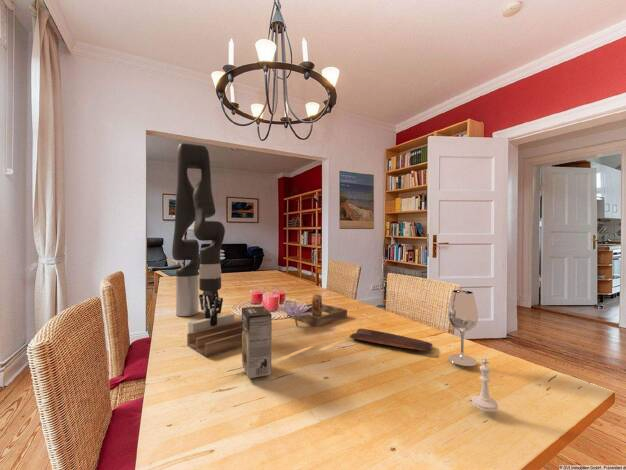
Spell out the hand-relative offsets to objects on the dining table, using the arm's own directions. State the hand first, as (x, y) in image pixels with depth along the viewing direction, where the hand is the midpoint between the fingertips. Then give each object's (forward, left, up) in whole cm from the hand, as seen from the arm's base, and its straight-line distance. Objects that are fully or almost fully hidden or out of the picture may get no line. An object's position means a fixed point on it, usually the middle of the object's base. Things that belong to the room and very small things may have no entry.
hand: (210, 323), depth 108 cm
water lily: (+14, +29, -4) cm, 32 cm away
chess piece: (+83, +21, -4) cm, 86 cm away
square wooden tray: (+12, +43, -4) cm, 45 cm away
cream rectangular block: (0, +1, -4) cm, 4 cm away
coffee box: (+34, -4, -4) cm, 34 cm away
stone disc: (+12, +43, -4) cm, 45 cm away
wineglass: (+72, +41, -4) cm, 83 cm away
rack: (+10, 0, -4) cm, 11 cm away
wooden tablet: (+48, +45, -4) cm, 66 cm away
